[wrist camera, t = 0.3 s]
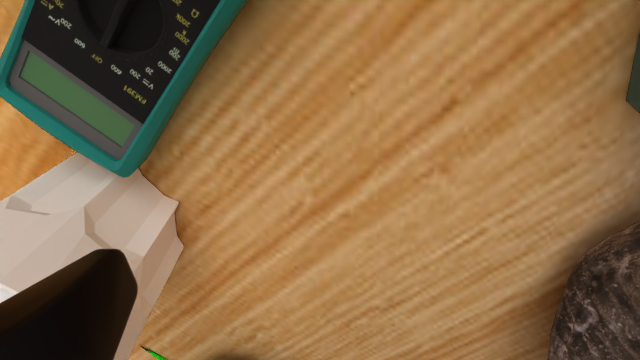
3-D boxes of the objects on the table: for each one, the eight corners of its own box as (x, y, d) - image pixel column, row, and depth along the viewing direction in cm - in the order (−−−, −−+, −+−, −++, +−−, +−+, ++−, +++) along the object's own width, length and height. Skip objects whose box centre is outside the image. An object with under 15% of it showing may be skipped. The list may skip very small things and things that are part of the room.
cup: (233, 233, 26) (154, 389, 18) (134, 299, 31) (33, 448, 22) (95, 102, 23) (-79, 218, 15) (6, 196, 27) (-166, 326, 19)
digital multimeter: (314, -90, 17) (299, -88, 15) (147, 161, 25) (118, 191, 22) (147, -245, 16) (99, -272, 13) (21, 74, 23) (-25, 95, 20)
